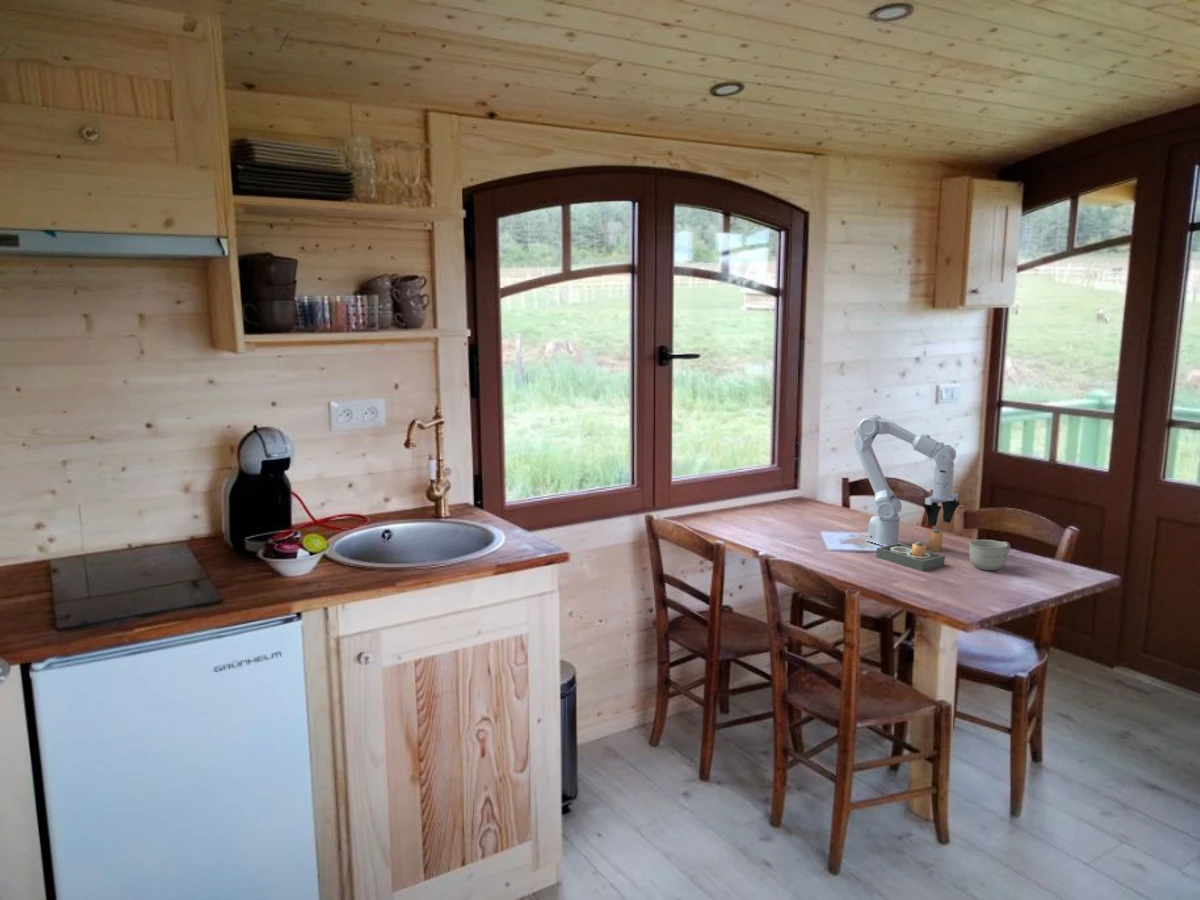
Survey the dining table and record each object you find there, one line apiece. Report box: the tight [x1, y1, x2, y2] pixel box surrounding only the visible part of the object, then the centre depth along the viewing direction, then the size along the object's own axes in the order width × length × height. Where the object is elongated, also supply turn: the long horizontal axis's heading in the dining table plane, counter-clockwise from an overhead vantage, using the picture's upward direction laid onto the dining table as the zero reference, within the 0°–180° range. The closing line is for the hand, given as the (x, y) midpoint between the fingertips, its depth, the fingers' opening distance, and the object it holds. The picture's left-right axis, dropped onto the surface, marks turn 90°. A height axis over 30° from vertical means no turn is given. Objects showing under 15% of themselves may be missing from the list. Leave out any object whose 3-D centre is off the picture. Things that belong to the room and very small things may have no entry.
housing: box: [875, 541, 946, 572], centre depth 261 cm, size 17×11×7 cm, turn 33°
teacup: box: [968, 539, 1011, 571], centre depth 255 cm, size 14×11×8 cm
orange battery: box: [928, 528, 944, 552], centre depth 274 cm, size 4×4×7 cm
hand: (939, 523), depth 271 cm, fingers open, 7 cm apart
